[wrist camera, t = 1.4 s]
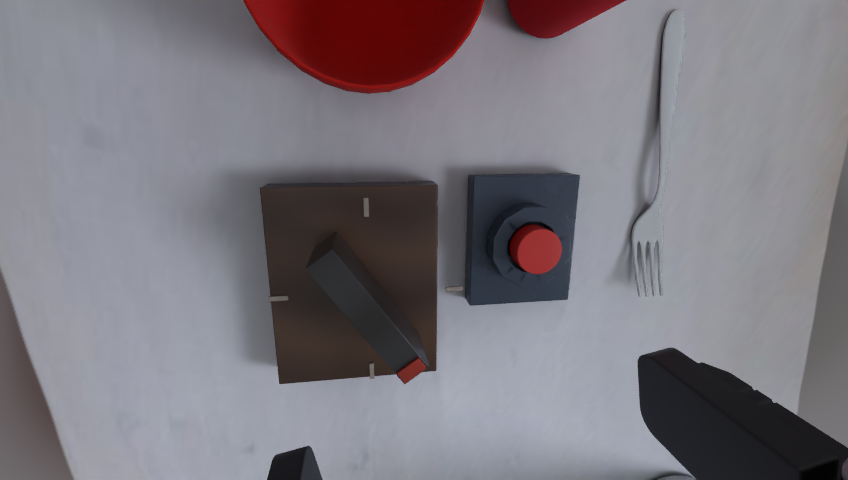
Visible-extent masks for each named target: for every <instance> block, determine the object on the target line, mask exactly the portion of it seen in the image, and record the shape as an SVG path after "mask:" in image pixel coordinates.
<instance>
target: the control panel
mask: <svg viewBox="0 0 848 480" xmlns="http://www.w3.org/2000/svg"><path fill="white" fill-rule="evenodd" d="M260 194H261V204H262V214H263V225H264V235H265V245H266V255H267V265H268V275H269V285H270V295H271V296H269V301H271V305H272V315H273V325H274V335H275V345H276V355H277V365H278V375H279V384H286V383H297V382H309V381H321V380H333V379H345V378H356V377H368V376H370V379H373V378H374V376H380V375H392V374H395V372H394V371H393V370H392V369H391V368H390V367H389V365H388V364H387V363H386V362H385V361H384V360H383V359H382V357H381V356H380V355H379V354H378V353H377V352H376V350H375V349H374V348H373V347H372V346H371V345H370V344H369V342H368V341H367V340H366V339H365V338H364V337H363V335H362V334H361V333H360V332H359V331H358V330H357V328H356V327H355V326H354V325H353V324H352V323H351V322H350V320H349V319H348V318H347V317H346V316H345V315H344V313H343V312H342V311H341V310H340V309H339V308H338V307H337V305H336V304H335V303H334V302H333V301H332V300H331V298H330V297H329V296H328V295H327V294H326V293H325V292H324V290H323V289H322V288H321V287H320V286H319V285H318V283H317V282H316V281H315V280H314V279H313V278H312V276H311V275H310V274H309V273H308V272H307V271H306V269H305V268H306V266H307V263H308V261H309V259H310V256H311V254H312V252H313V249H314V248H315V247H316V246H317V245H319V244H320V243H322V242H323V241H324V240H326V239H327V238H328V237H330V236H331V235H333V234H334V233H335V232H338V234H339V235H340V236H341V237H342V239H343V240H344V241H345V242H346V244H347V245H348V246H349V247H350V248H351V250H352V251H353V252H354V253H355V255H356V256H357V257H358V258H359V260H360V261H361V262H362V263H363V265H364V266H365V267H366V268H367V270H368V271H369V272H370V273H371V275H372V276H373V277H374V278H375V279H376V281H377V282H378V283H379V284H380V286H381V287H382V288H383V289H384V291H385V292H386V293H387V294H388V296H389V297H390V298H391V299H392V301H393V302H394V303H395V304H396V306H397V307H398V308H399V309H400V310H401V312H402V313H403V314H404V315H405V317H406V318H407V319H408V320H409V322H410V323H411V324H412V325H413V327H414V328H415V329H416V330H417V332H418V333H419V334H420V338H421V341H422V344H423V348H424V351H425V355H426V358H427V361H428V365H429V367H428V368H427V369H425V370H424V371H422V372H427V371H436V348H437V247H438V185H437V184H436V183H434V182H432V181H424V182H356V183H289V184H267V185H265V186H263V187H261V188H260ZM446 291H463V286H452V287H446Z"/></svg>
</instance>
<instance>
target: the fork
mask: <svg viewBox="0 0 848 480" xmlns="http://www.w3.org/2000/svg"><path fill="white" fill-rule="evenodd" d="M685 36H686V23H685V18H684V14H683V13H682V12H681V11H679V10H674V11H673V12H672V13H671V14H670V16H669V18H668V20H667V22H666V25H665V29H664V33H663V42H662V59H661V86H660V156H659V179H658V187H657V192H656V195H655V197H654V200H653V202H652V203H651V205H650V206H649V208H648V209H647V210H646V211H645V212H644V213H643V214H642V215H641V216H640V217H639V218H638V220H637V221H636V223H635V224H634V226H633V230H632V253H633V262H634V270H635V278H636V284H637V290H638V296H639V297H641V290H640V280H639V271H638V261H637V244H638V242H639V243H640V251H641V261H642V272H643V282H644V288H645V296H646V297H648V287H647V274H646V259H645V249H646V243H647V241H648V243H649V257H650V273H651V285H652V294H653V296H655V278H654V245H655V243H656V241H657V244H658V282H659V292H660V296H662V295H663V293H662V244H663V220H662V216H661V203H662V199H663V195H664V190H665V184H666V174H667V163H668V152H669V144H670V136H671V129H672V122H673V116H674V109H675V102H676V95H677V88H678V81H679V75H680V69H681V63H682V57H683V50H684V43H685Z"/></svg>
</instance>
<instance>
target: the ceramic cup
mask: <svg viewBox="0 0 848 480" xmlns="http://www.w3.org/2000/svg"><path fill="white" fill-rule="evenodd" d="M243 1H244V3H245V5H246V6H247V8H248V10H249V12H250V13H251V15H252V17H253V18H254V20H255V22H256V24H257V25H258V27H259V29H260V30H261V31H262V32H263V33H264V35H265V36H266V37H267V38H268V39H269V41H270V42H271V43H272V44H273V45H274V47H275V48H276V49H277V50H278V51H279V52H280V53H281V54H282V55H283V56H285V57H286V58H287V59H288V60H290V61H291V62H292V63H293V64H294V65H296V66H297V67H298V68H299V69H300V70H302V71H303V72H305V73H307V74H309V75H311V76H312V77H314V78H316V79H318V80H319V81H321V82H323V83H325V84H328V85H331V86H334V87H337V88H340V89H343V90H346V91H352V92H360V93H368V94H369V93H380V92H390V91H393V90H396V89H400V88H403V87H406V86H409V85H412V84H414V83H416V82H417V81H419V80H421V79H423V78H425V77H427V76H428V75H430V74H432V73H434V72H435V71H436V70H437V69H438V68H440V67H441V66H442V65H443V64H444V63H445V62H447V61H448V60H449V59H450V58H451V57H452V56H453V55H454V54H455V53H456V51H457V50H458V49H459V48H460V46H461V45H462V44H463V42H464V41H465V40H466V39H467V37H468V36H469V34H470V32H471V30H472V28H473V26H474V24H475V22H476V20H477V18H478V17H479V15H480V13H481V9H482V6H483V3H484V0H243Z"/></svg>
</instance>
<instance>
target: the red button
mask: <svg viewBox="0 0 848 480" xmlns="http://www.w3.org/2000/svg"><path fill="white" fill-rule="evenodd" d="M509 250H510V255H511V257H512V259H513V261H514V262H515V263H516V264H518V265H519V266H520V267H521V268H523V269H524V270H525V271H527V272H529V273H531V274H542V273H545V272H548V271H549V270H551V269H552V268H553V267H554V266H555V265H556V264H557V263H558V261H559V259H560V257H561V252H562V246H561V242H560V239H559V238H558V236H557V235H556V234H555V233H553V232H552V231H550V230H548V229H546V228H544V227H542V226H539V225H533V224H532V225H526V226H524V227H522V228H520V229H519V230H518V231H517V232H516V233H515V234H514V235H513V237H512V239H511V242H510V247H509Z"/></svg>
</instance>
